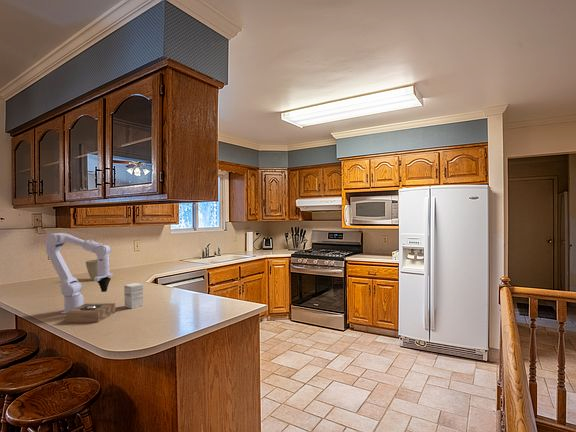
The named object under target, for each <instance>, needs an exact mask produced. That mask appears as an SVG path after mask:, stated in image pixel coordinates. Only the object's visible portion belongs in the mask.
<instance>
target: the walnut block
mask: <svg viewBox="0 0 576 432" xmlns="http://www.w3.org/2000/svg"><path fill="white" fill-rule="evenodd" d="M88 306H96V307H94V308H87V307H88ZM115 313H116V303H115V302H106V303H105V302H104V303H103V302H102V303H84V305H81V306H79V307H77V308H75V309H73V310H70V311H68V312H66V313H65V323H66V324H67V323H69V324H71V323H72V324H73V323H75V324H76V323H77V324H78V323H81V324H82V323H100V322H101V321H104V320H105V319H107V318H108V317H111V316H112V315H114V314H115Z"/></svg>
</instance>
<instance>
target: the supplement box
mask: <svg viewBox="0 0 576 432" xmlns="http://www.w3.org/2000/svg"><path fill="white" fill-rule="evenodd" d="M143 306H144V284H143V283H137V282H134V283H128V284H124V307H125V308H129V309H131V310H133V309H136V308H141V307H143Z"/></svg>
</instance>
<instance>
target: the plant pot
mask: <svg viewBox="0 0 576 432" xmlns="http://www.w3.org/2000/svg"><path fill="white" fill-rule="evenodd" d="M85 266H86V270H87V273H88V275H89V278H90V280H91V281H92V282H95V281H94V278H95V277H96V276H97V275H98V262H97V258H96V259H89V260H86V261H85Z"/></svg>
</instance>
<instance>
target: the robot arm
mask: <svg viewBox="0 0 576 432" xmlns="http://www.w3.org/2000/svg"><path fill="white" fill-rule="evenodd" d="M44 243H45V245H46V246H45V252H46V255H47V257H48V259H49V260H50V262H51V264H52V266H53V267H54V270H55V272H56V273H57V274H56V275H57V276H58V277H59V279H60V281H61V282H60V284H59V287H60V292H61V294H62V296H63V297H64V299H63V302H64V303H63V304H64V307H63V309H64V310H63V311H61V312H60V314H63V315H64V314H66V312H68V311H70V310H73V309H75V308H77V307H79V306H81V305H84V304H85V302H84V301H85V298H84V295H83V294H82V293H81V291H82V290H83V284H82V283H81V282H80V281H79V280H78V279H77V277H75V276H73V275H72V273H71V271H70V269H69V267H68V264H67V263H66V261H65V259H64V258H63V256H62V254H61V252H60V251H61V249H62V247H63V246H64V245H65V244H66V243H68V244H72V245H75V246H79V247H82V248H83V251H84V250H85V251H87V252H90V253H93V254H95V255H96V259H97V262H98V275H97V276H96V277H95V278H94V281H93V282H97V283H98V285H99V288H100V290H101V291H100V292H101V293H105V292H106V293H107V291H108V287H109V284H110V281H111V279H112V278H111V277H113V272H111V270H110V254H111V251H112V248H111V246H110V245H108V244H103V243H101V242H96V241H94V240H93V239H87V240H84V239H81V238H80V237H79V238H78V237H76V236H74V235H73V234H69V233H66V232H57V233H56V232H55V233H53V232H52V233H48V234H47V236H45V239H44Z"/></svg>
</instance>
